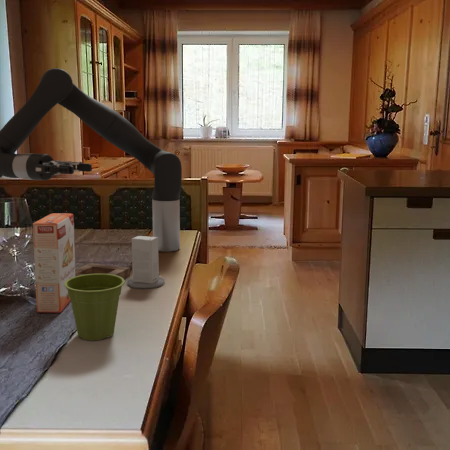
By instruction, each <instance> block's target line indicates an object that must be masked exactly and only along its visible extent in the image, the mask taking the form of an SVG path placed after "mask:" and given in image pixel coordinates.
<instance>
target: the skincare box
mask: <svg viewBox="0 0 450 450" xmlns="http://www.w3.org/2000/svg"><path fill="white" fill-rule="evenodd" d="M131 262H132V263H131V267H132V268H131V269H132V278H133V282H140V283H150V284H153V283H154V282H156V281H158V280H159V277H160V274H159V273H160V270H159V269H160V268H159V267H160V266H159V251H158V237H153V236H145V235H144V236H143V235H137V236H134V237H133V238H131Z"/></svg>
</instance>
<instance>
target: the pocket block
mask: <svg viewBox="0 0 450 450" xmlns="http://www.w3.org/2000/svg"><path fill="white" fill-rule="evenodd" d="M86 274H112V275H117V276H120V277H122V278H123V279H124V280H125V279H126V278H129V277H130V276H131V275H130V274H131V269H130V267H126V266H120V265H119V266H117V265H110V264H109V265H108V264H99V263H90V262H89V263H87V264H85V265H83V266H81V267H78V268H75V277H76V276H80V275H86Z"/></svg>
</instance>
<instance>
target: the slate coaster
mask: <svg viewBox="0 0 450 450" xmlns="http://www.w3.org/2000/svg"><path fill="white" fill-rule="evenodd" d="M165 281H166V280H165V278H163V277H160V276H159V280H158V281H156V282H154V283H153V284H150V283H140V282H133V277H131V278H130V279H128V280H127V282H126V283H127V284H126V285H127V286H128V287H131V288H132V289H141V290H144V289H145V290H146V289H147V290H148V289H155V288H156V289H157V288H159V287H163V286H164V285H165V283H166V282H165ZM163 284H164V285H163Z"/></svg>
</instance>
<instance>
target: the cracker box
mask: <svg viewBox="0 0 450 450" xmlns="http://www.w3.org/2000/svg"><path fill="white" fill-rule="evenodd" d="M32 231H33V233H32V235H33V239H32V240H33V255H34V257H33V259H34V276H35V277H34V278H35V280H34V281H35V300H36V301H35V302H36V313H50V314H51V313H52V314H53V313H55V314H57V313H58V314H61V313H62V311H64V309H65V308H66V306H67V305H68V304H69V303H70V302H71V299H70V297H69V294H68V290H67V288H66V287H65V286H64V283H65V281H66V280H68V279H70V278H72V277H75V270H76V259H75V257H76V254H75V253H76V252H75V221H74V214H73V213H70V212H69V213H68V212H67V213H66V212H65V213H63V212H62V213H61V212H60V213H59V212H58V213H49V214H48V215H46V216H44V217H42V218H40V219H39V220H36V221H35V222H32Z"/></svg>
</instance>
